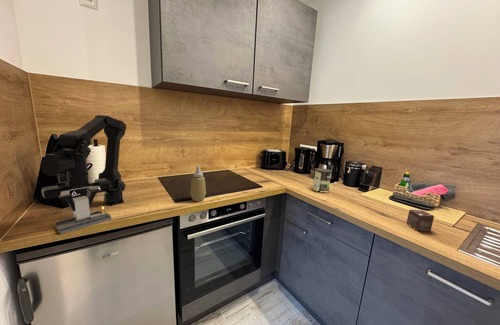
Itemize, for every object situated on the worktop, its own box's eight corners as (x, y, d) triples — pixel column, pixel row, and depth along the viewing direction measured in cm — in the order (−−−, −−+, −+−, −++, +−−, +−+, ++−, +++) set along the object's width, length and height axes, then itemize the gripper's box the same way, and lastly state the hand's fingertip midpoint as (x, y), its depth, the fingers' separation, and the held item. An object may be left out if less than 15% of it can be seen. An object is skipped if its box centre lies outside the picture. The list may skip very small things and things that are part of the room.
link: (102, 211, 82) (100, 192, 80) (106, 215, 79) (104, 195, 77) (74, 219, 75) (71, 198, 73) (77, 223, 72) (74, 201, 70)
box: (418, 224, 89) (422, 209, 88) (431, 232, 83) (435, 215, 82) (405, 224, 89) (409, 209, 87) (417, 231, 83) (421, 215, 81)
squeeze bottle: (199, 195, 109) (200, 164, 106) (209, 199, 104) (209, 166, 101) (187, 199, 103) (186, 166, 100) (196, 204, 98) (196, 168, 95)
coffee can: (330, 190, 132) (333, 169, 130) (326, 194, 124) (329, 172, 121) (315, 186, 138) (318, 167, 136) (310, 190, 130) (312, 169, 128)
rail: (103, 212, 84) (102, 202, 83) (111, 219, 79) (110, 208, 78) (54, 225, 72) (53, 213, 71) (60, 234, 67) (58, 222, 66)
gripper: (100, 162, 83) (103, 197, 86) (36, 168, 69) (42, 210, 72) (110, 167, 77) (113, 204, 80) (41, 174, 62) (47, 220, 65)
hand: (81, 209), depth 74 cm, fingers closed on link, 4 cm apart
